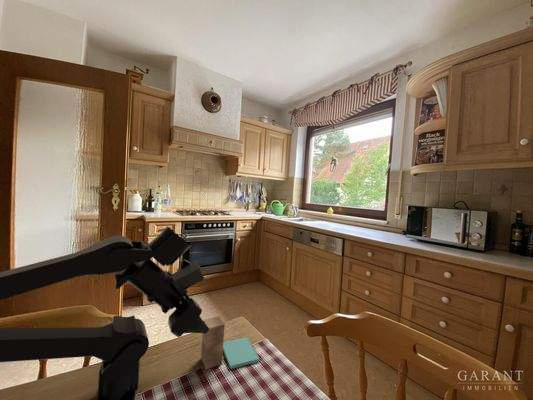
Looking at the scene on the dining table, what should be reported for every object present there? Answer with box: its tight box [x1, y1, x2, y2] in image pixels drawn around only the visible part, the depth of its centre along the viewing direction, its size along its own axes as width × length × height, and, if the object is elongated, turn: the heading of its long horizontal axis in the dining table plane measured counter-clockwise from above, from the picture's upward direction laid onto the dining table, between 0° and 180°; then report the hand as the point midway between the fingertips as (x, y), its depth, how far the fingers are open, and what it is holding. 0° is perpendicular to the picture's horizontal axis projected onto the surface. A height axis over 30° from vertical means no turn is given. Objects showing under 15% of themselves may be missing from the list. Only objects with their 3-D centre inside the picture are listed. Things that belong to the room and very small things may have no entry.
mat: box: [223, 337, 260, 370], centre depth 62 cm, size 8×9×1 cm
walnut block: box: [200, 316, 226, 370], centre depth 58 cm, size 4×4×10 cm
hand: (201, 320), depth 56 cm, fingers open, 9 cm apart
